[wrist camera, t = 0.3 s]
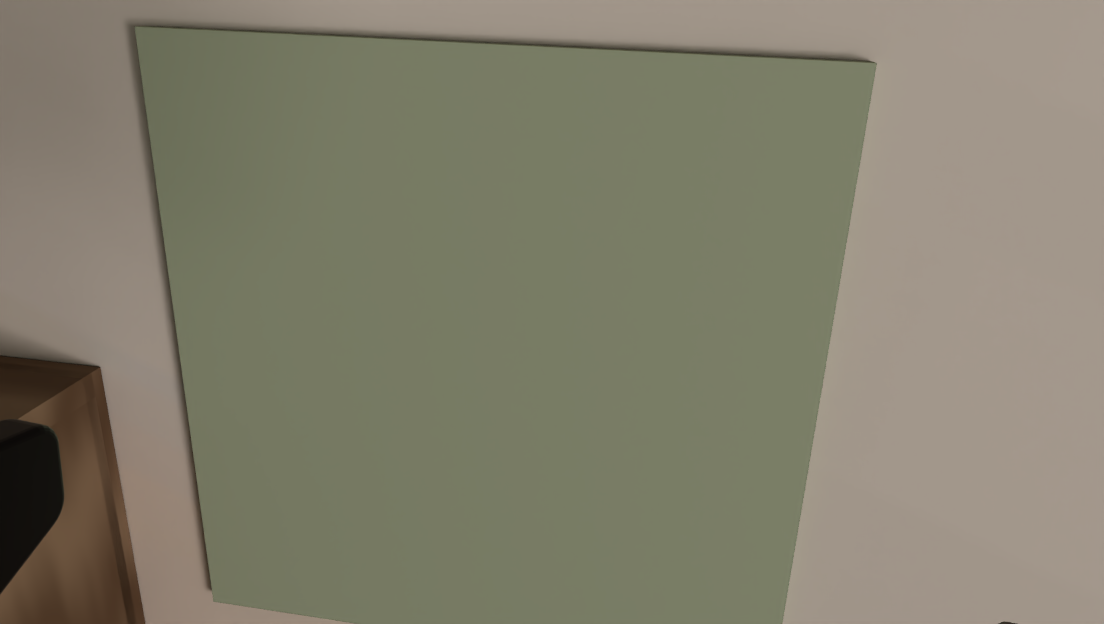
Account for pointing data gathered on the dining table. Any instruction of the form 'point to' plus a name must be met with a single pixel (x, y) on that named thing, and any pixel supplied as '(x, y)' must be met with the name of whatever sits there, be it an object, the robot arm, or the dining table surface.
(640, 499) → the mat
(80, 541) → the storage box
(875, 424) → the dining table surface
